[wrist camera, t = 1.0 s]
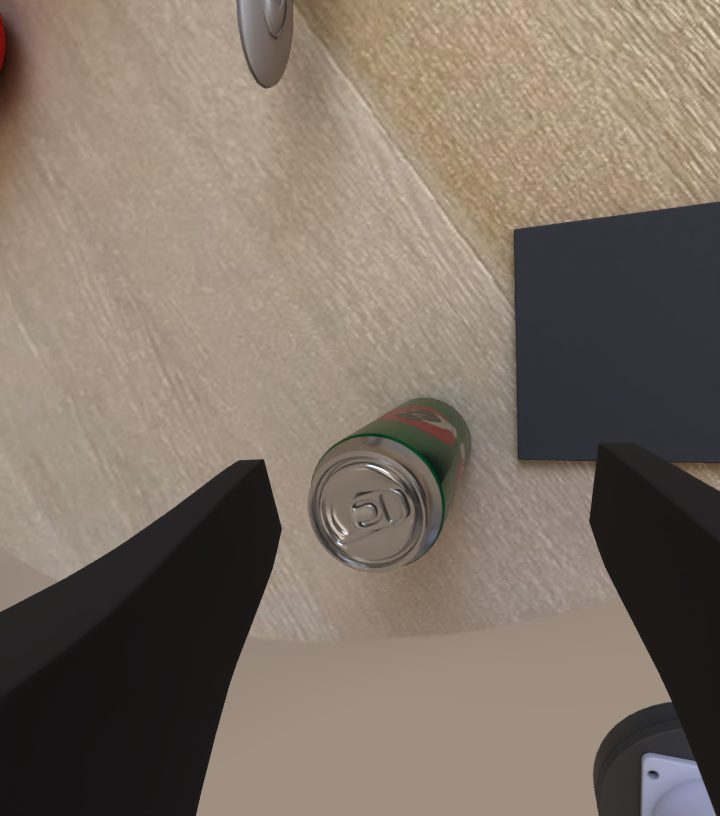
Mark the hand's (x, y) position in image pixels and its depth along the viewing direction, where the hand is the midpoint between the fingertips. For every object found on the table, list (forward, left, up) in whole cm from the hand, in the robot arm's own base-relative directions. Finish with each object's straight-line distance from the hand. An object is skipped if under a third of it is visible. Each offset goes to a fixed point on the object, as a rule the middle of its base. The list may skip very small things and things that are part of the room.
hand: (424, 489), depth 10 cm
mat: (+3, -7, -16) cm, 18 cm away
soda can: (-2, +3, -17) cm, 17 cm away
